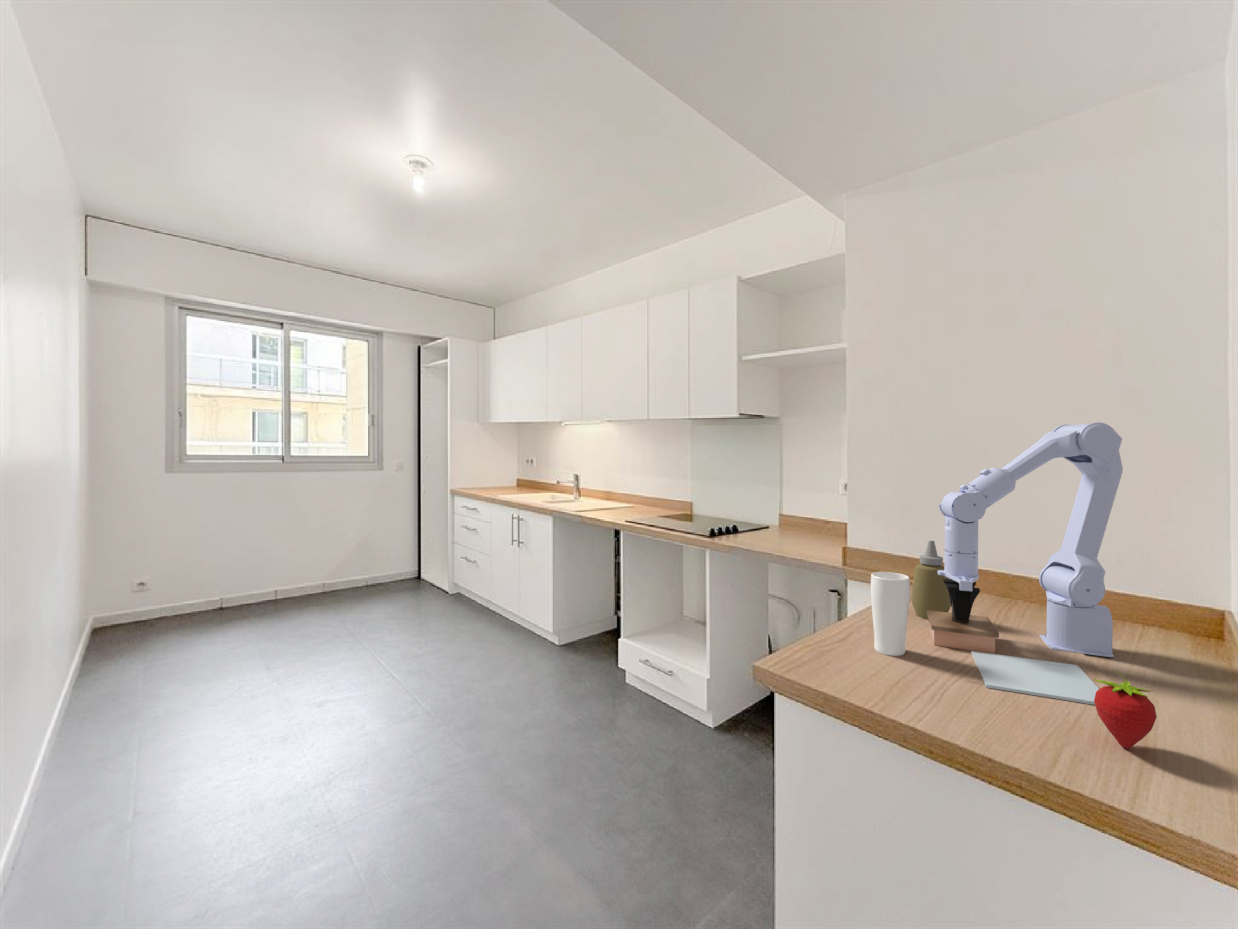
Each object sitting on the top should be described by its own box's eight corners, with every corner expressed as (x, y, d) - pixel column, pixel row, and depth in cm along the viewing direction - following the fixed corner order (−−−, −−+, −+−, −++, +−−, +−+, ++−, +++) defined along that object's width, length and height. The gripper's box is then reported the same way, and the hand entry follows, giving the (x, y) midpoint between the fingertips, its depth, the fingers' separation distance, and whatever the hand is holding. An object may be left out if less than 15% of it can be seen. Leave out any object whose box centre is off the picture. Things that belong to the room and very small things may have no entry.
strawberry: (1094, 751, 68) (1095, 676, 68) (1092, 728, 74) (1093, 658, 73) (1159, 769, 64) (1161, 689, 64) (1151, 743, 70) (1153, 669, 69)
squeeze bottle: (951, 616, 123) (951, 539, 122) (951, 626, 116) (951, 545, 116) (911, 610, 127) (912, 537, 127) (909, 619, 120) (910, 542, 120)
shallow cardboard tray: (985, 637, 109) (985, 621, 109) (994, 654, 100) (995, 636, 100) (929, 630, 113) (929, 614, 113) (934, 646, 104) (934, 629, 104)
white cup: (914, 660, 97) (915, 580, 97) (875, 658, 99) (876, 579, 98) (902, 647, 104) (903, 572, 104) (866, 644, 105) (866, 571, 105)
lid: (987, 620, 109) (988, 600, 109) (998, 638, 99) (999, 615, 99) (926, 613, 114) (926, 594, 114) (931, 629, 104) (931, 608, 104)
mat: (1077, 668, 93) (1077, 665, 93) (1113, 708, 79) (1113, 704, 79) (970, 653, 101) (970, 650, 101) (986, 687, 86) (986, 684, 86)
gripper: (934, 543, 114) (934, 605, 115) (941, 556, 101) (941, 625, 102) (973, 546, 111) (972, 609, 111) (985, 559, 98) (985, 631, 98)
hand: (960, 617), depth 106 cm, fingers closed on lid, 3 cm apart
